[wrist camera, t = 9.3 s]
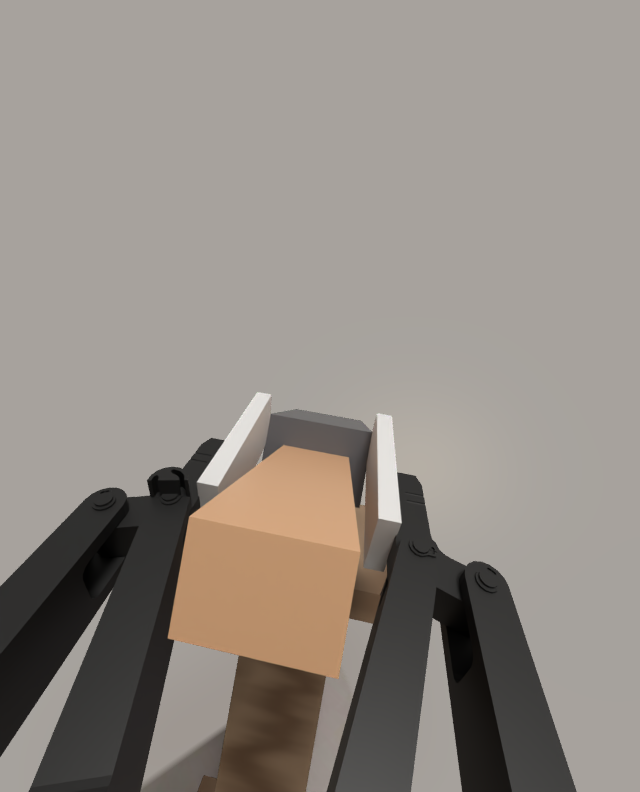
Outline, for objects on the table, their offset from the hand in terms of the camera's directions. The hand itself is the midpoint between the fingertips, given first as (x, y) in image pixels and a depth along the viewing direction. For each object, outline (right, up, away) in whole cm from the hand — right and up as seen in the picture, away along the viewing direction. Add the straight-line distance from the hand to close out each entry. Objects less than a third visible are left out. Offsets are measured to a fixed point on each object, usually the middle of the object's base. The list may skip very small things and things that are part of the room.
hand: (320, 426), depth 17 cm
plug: (-1, -4, 0) cm, 4 cm away
